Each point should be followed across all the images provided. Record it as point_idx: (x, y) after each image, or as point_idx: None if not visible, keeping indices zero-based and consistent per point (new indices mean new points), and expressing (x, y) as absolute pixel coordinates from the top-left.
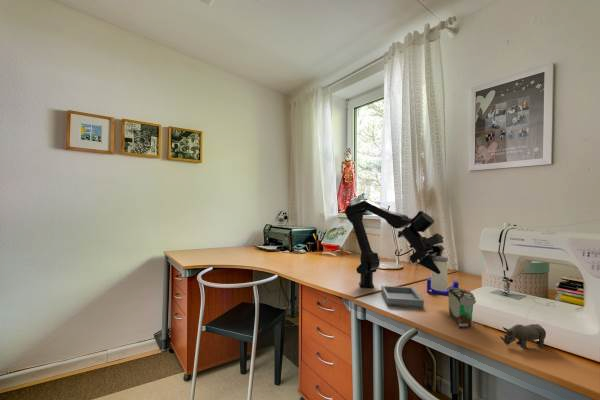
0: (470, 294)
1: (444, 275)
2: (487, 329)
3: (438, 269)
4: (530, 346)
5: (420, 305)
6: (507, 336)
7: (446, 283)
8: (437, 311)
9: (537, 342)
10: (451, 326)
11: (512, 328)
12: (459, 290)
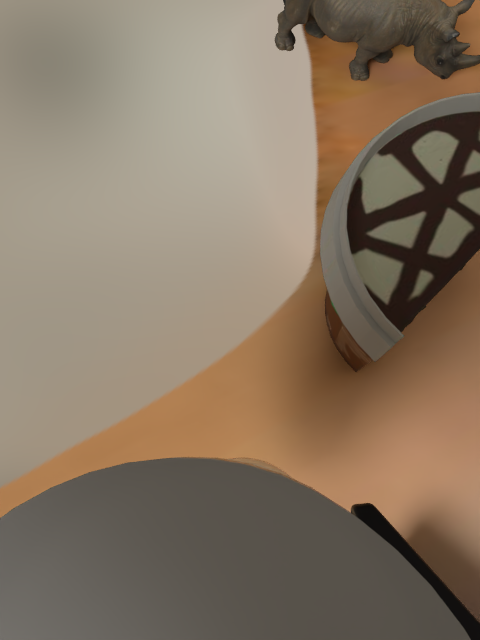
0: (364, 163)
1: (270, 468)
2: (335, 186)
3: None
4: (344, 48)
5: None
6: (458, 42)
7: (228, 459)
8: (345, 463)
9: (293, 41)
10: (477, 293)
11: (441, 3)
12: (348, 258)
